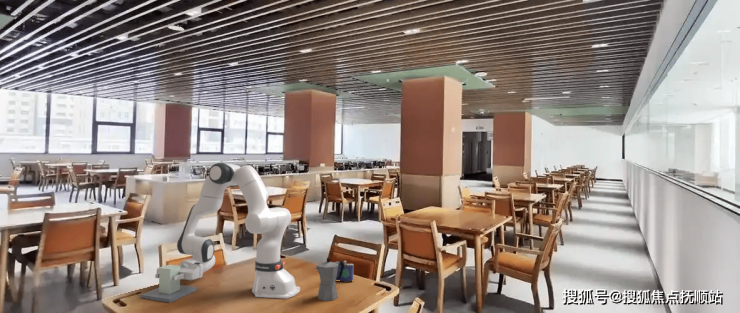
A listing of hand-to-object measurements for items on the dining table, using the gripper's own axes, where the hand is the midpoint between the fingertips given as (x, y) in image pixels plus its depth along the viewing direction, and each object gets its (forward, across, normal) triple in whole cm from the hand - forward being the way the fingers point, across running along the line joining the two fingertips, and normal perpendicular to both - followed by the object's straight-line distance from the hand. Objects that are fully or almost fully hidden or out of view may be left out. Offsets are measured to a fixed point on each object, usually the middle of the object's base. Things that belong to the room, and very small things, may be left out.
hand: (164, 277), depth 168 cm
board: (-3, 0, +8) cm, 9 cm away
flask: (-47, +69, +9) cm, 84 cm away
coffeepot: (-24, +70, +9) cm, 75 cm away
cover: (-3, 0, +7) cm, 8 cm away
